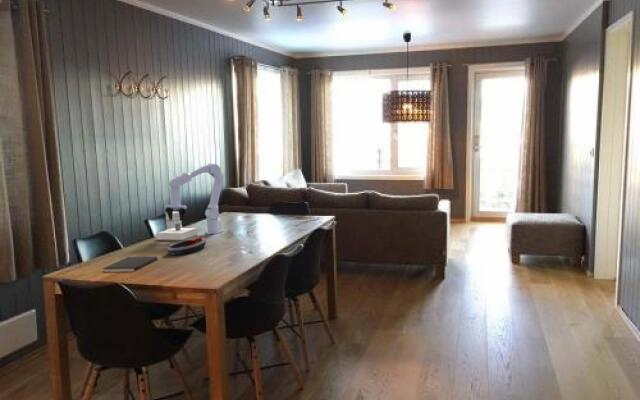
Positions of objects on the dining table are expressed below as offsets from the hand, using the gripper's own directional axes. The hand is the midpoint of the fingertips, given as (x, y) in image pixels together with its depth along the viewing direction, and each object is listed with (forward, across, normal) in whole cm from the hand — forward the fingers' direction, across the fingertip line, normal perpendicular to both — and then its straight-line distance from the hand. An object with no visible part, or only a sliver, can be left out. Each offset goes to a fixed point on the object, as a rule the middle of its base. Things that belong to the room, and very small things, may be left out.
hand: (176, 220), depth 331 cm
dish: (+12, +30, -31) cm, 45 cm away
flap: (+7, 0, +5) cm, 8 cm away
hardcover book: (+14, +22, -67) cm, 72 cm away
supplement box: (+11, -19, +24) cm, 33 cm away
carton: (+11, 0, +1) cm, 11 cm away
